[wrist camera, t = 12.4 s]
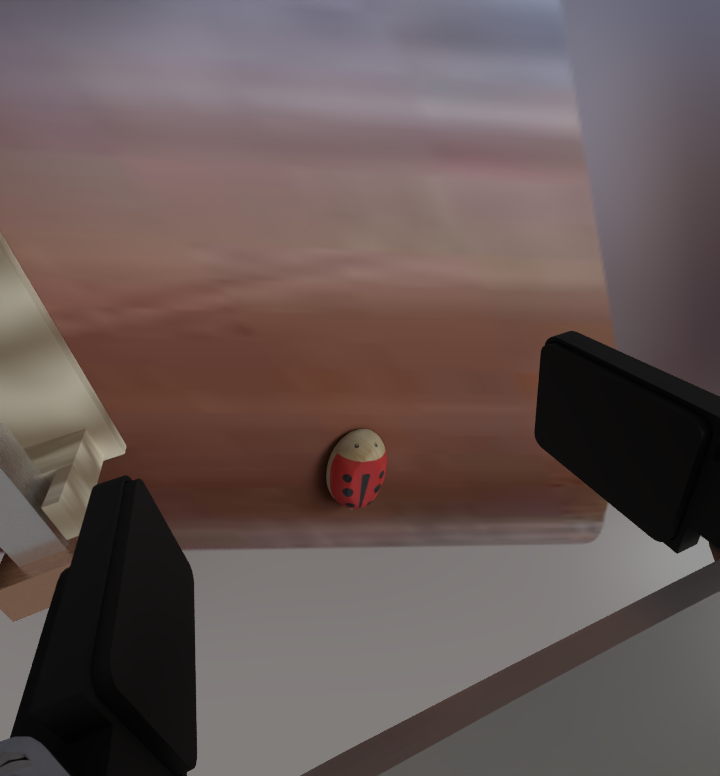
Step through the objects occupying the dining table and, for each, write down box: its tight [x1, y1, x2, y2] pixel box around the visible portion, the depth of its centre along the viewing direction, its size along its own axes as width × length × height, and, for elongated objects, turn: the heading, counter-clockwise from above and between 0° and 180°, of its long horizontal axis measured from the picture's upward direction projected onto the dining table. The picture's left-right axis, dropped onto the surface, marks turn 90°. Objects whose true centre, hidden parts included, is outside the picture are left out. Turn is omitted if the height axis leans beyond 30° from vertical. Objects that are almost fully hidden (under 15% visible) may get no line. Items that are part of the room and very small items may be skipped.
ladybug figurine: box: [326, 429, 387, 509], centre depth 46 cm, size 7×10×4 cm
